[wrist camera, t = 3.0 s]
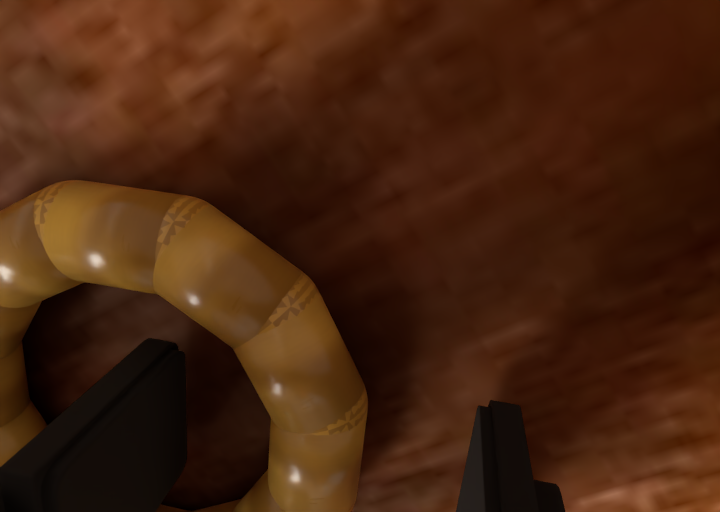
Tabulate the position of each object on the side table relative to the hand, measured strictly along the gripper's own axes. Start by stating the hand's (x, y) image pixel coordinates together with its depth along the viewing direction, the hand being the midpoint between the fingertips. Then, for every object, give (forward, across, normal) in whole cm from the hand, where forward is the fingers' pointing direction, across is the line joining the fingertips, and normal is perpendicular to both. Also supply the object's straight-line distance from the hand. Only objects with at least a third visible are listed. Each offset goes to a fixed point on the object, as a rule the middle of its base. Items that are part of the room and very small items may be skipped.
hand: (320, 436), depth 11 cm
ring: (0, +4, 0) cm, 4 cm away
